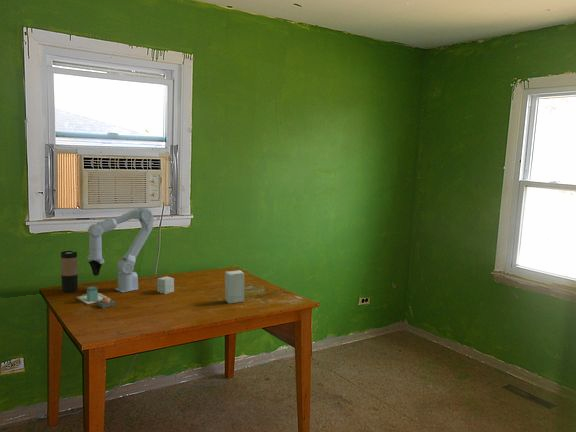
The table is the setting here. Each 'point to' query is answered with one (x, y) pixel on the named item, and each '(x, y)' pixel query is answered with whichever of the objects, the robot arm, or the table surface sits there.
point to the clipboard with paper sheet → (87, 302)
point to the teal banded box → (92, 293)
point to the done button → (105, 300)
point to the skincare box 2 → (234, 286)
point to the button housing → (103, 305)
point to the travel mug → (69, 271)
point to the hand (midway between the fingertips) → (96, 275)
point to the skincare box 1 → (165, 285)
